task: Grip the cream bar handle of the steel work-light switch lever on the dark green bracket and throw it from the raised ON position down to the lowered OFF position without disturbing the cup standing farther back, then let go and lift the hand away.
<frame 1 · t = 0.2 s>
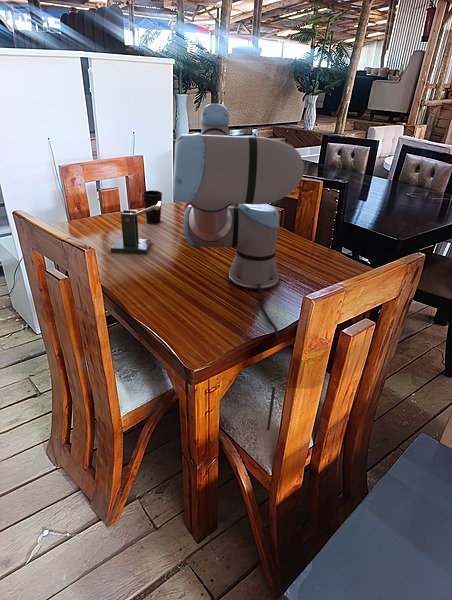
hand: (212, 201, 140), 16 cm above the table, tool tilted 35°, fingers open, 13 cm apart
apple: (197, 232, 158), on the table
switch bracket: (131, 247, 140), on the table
cup: (153, 222, 166), on the table
switch lever: (142, 211, 134), point 13 cm above the table, hinge at 24.0°
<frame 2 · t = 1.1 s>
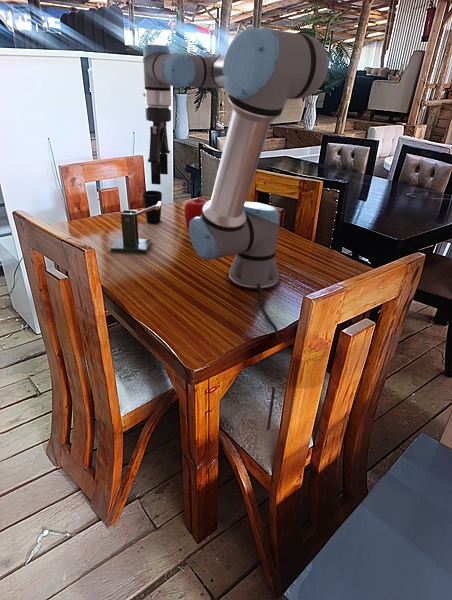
hand: (160, 178, 129), 24 cm above the table, tool pointing down, fingers open, 13 cm apart
nothing on the table moved.
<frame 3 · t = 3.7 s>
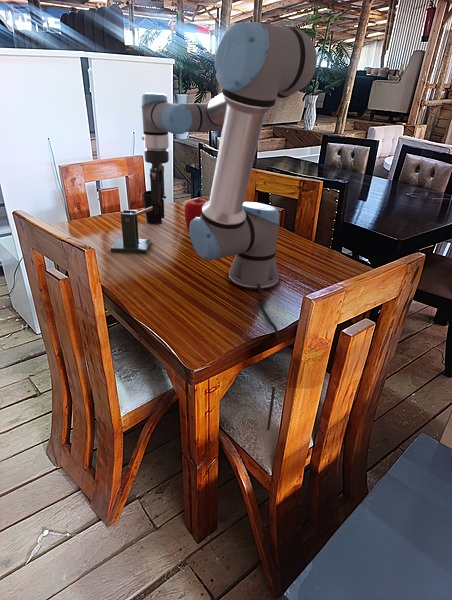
hand: (159, 220, 136), 10 cm above the table, tool pointing down, fingers closed on switch lever, 5 cm apart
switch lever: (142, 211, 134), point 13 cm above the table, hinge at 24.0°, touching gripper
everything else where it was.
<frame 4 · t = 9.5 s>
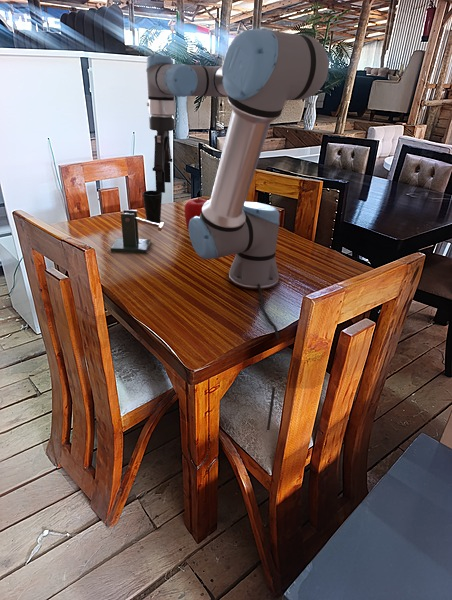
hand: (163, 187, 130), 22 cm above the table, tool pointing down, fingers open, 13 cm apart
switch lever: (144, 221, 136), point 10 cm above the table, hinge at -14.3°
everything else where it was.
at the end: switch lever at -14° (first picture: +24°); switch lever reached +24° during the clip, -14° at the end; cup moved 0.2 cm from its start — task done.
